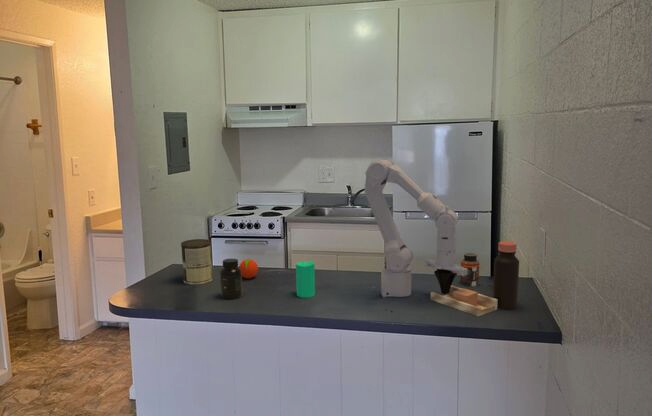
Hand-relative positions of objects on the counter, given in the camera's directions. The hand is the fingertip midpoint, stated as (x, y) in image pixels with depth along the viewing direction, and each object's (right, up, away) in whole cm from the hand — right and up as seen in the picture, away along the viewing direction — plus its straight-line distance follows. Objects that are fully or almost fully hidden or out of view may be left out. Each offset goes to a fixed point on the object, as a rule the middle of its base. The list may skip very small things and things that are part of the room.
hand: (445, 293), depth 152 cm
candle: (-43, -2, +9) cm, 44 cm away
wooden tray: (+7, -3, -3) cm, 8 cm away
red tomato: (-65, 0, +28) cm, 70 cm away
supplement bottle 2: (+12, -1, +15) cm, 19 cm away
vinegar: (+16, -4, -6) cm, 18 cm away
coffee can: (-83, 0, +26) cm, 87 cm away
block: (+4, -3, -6) cm, 8 cm away
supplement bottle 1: (-67, -3, +9) cm, 68 cm away
